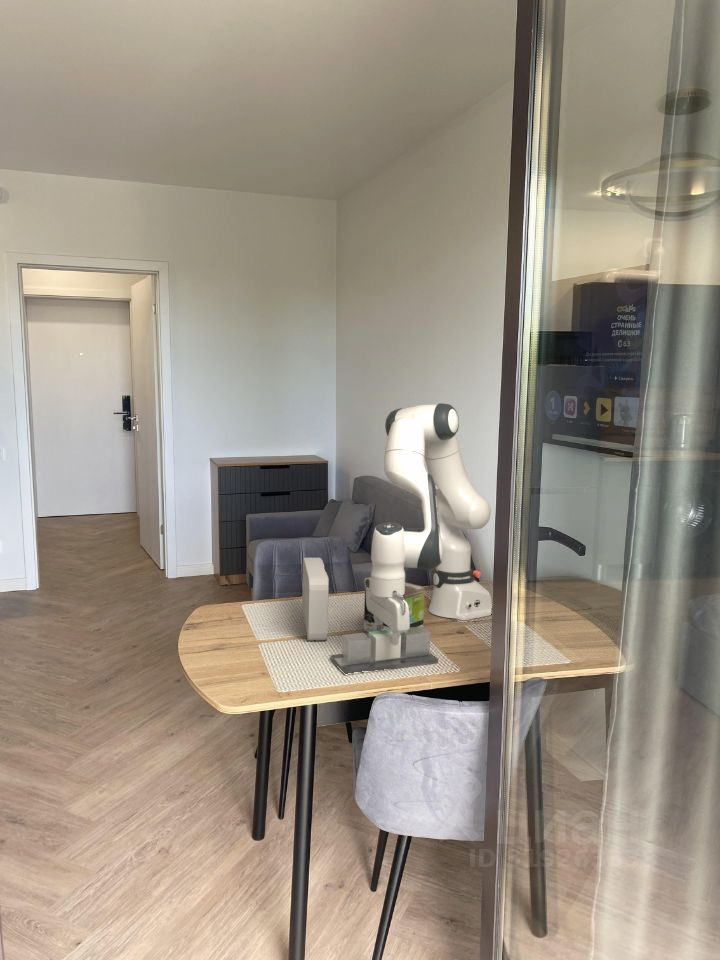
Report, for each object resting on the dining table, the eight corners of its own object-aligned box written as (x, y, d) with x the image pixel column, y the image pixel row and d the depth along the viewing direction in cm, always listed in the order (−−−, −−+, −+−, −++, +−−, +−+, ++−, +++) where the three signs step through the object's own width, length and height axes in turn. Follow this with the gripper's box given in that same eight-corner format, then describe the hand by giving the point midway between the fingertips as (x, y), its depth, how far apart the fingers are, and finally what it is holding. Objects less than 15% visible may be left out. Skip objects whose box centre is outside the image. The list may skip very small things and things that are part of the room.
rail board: (419, 648, 203) (420, 622, 202) (438, 663, 192) (439, 635, 191) (330, 659, 193) (330, 632, 192) (344, 675, 183) (345, 646, 182)
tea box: (424, 635, 213) (426, 586, 211) (402, 644, 206) (404, 593, 204) (384, 623, 223) (386, 576, 221) (362, 631, 216) (363, 582, 214)
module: (392, 650, 196) (393, 628, 195) (400, 657, 192) (401, 634, 191) (368, 653, 194) (368, 631, 193) (375, 660, 189) (376, 637, 188)
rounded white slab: (335, 642, 206) (336, 580, 203) (308, 643, 205) (309, 580, 202) (326, 610, 234) (327, 555, 231) (302, 611, 233) (303, 555, 230)
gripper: (416, 596, 182) (415, 650, 184) (383, 575, 200) (382, 623, 203) (393, 599, 179) (392, 653, 181) (361, 577, 198) (361, 626, 200)
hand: (386, 637), depth 192 cm, fingers open, 8 cm apart
